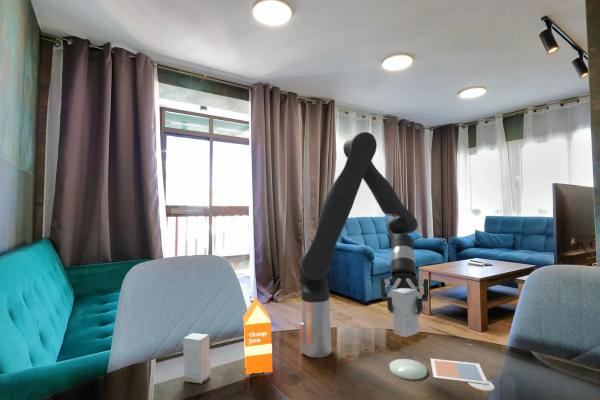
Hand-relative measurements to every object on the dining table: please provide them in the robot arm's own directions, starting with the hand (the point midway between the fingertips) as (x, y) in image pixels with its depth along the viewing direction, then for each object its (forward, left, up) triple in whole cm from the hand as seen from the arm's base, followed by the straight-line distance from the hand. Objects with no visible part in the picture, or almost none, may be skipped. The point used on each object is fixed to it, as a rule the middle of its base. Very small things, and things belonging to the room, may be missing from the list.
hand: (405, 312), depth 87 cm
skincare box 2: (0, +2, -6) cm, 7 cm away
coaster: (0, +1, -17) cm, 17 cm away
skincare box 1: (-56, -19, -17) cm, 61 cm away
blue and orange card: (+13, +4, -17) cm, 22 cm away
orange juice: (-42, -9, -17) cm, 46 cm away
